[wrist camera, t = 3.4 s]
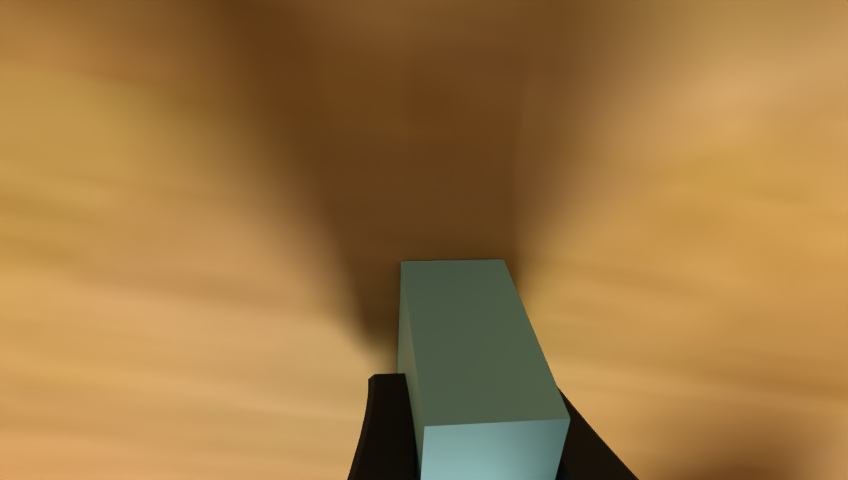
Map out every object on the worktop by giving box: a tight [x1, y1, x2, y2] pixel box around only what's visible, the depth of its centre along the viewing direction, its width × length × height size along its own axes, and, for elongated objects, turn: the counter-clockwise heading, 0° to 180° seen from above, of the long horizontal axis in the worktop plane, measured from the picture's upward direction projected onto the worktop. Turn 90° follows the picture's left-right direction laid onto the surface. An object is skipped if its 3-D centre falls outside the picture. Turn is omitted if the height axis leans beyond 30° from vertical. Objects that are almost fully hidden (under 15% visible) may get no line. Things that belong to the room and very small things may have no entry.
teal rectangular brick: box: [397, 259, 570, 480], centre depth 11 cm, size 2×5×4 cm, turn 177°
